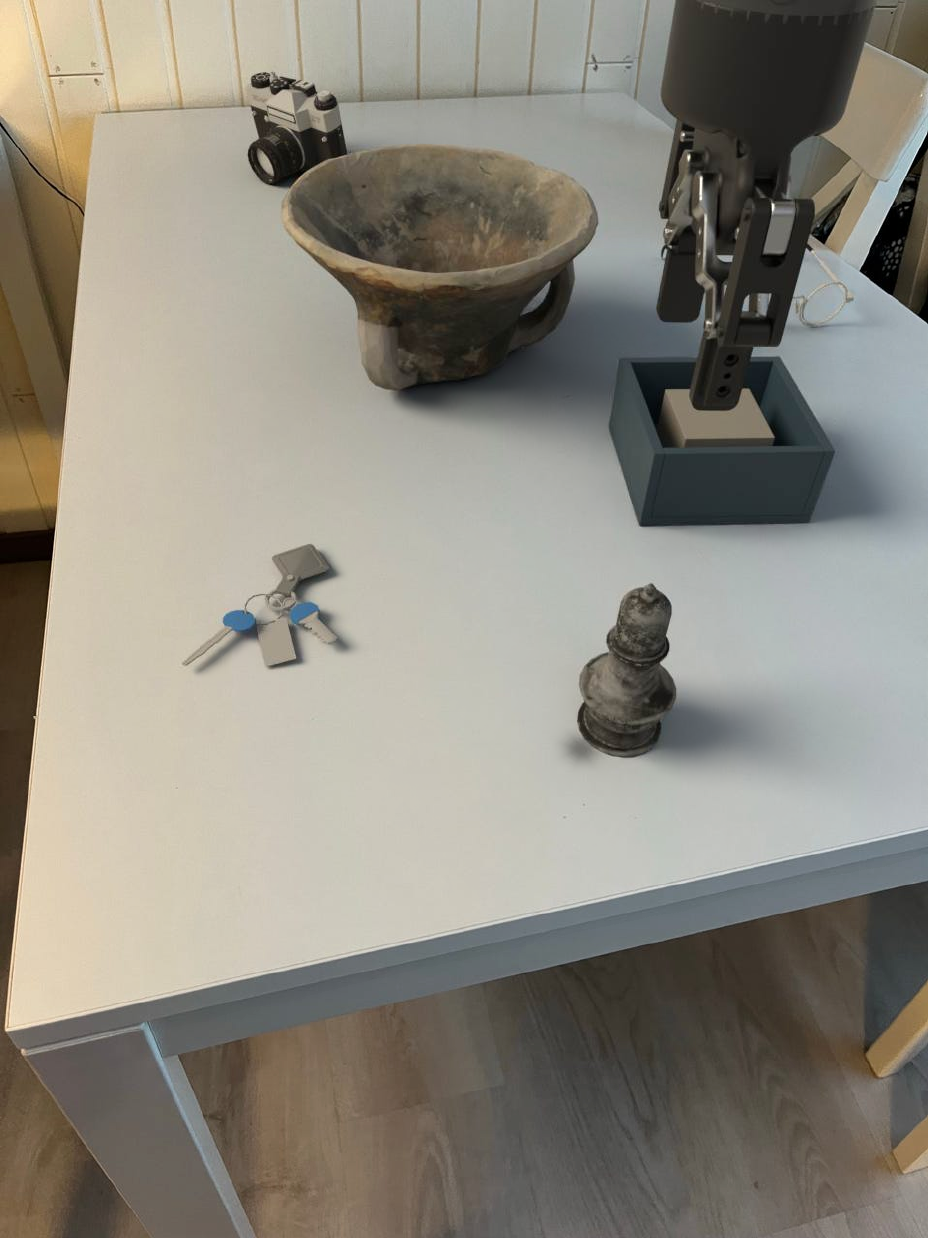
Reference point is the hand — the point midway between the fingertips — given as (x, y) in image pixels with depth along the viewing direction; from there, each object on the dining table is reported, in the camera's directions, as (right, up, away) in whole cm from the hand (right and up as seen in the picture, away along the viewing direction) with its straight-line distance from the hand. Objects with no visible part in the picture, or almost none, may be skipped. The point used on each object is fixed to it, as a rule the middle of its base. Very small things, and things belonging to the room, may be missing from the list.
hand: (692, 359), depth 48 cm
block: (+8, 0, +31) cm, 32 cm away
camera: (-34, +44, +74) cm, 93 cm away
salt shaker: (-2, -20, +12) cm, 23 cm away
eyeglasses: (+19, +22, +55) cm, 62 cm away
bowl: (-14, +12, +43) cm, 47 cm away
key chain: (-23, -13, +17) cm, 32 cm away
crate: (+8, -1, +31) cm, 32 cm away
